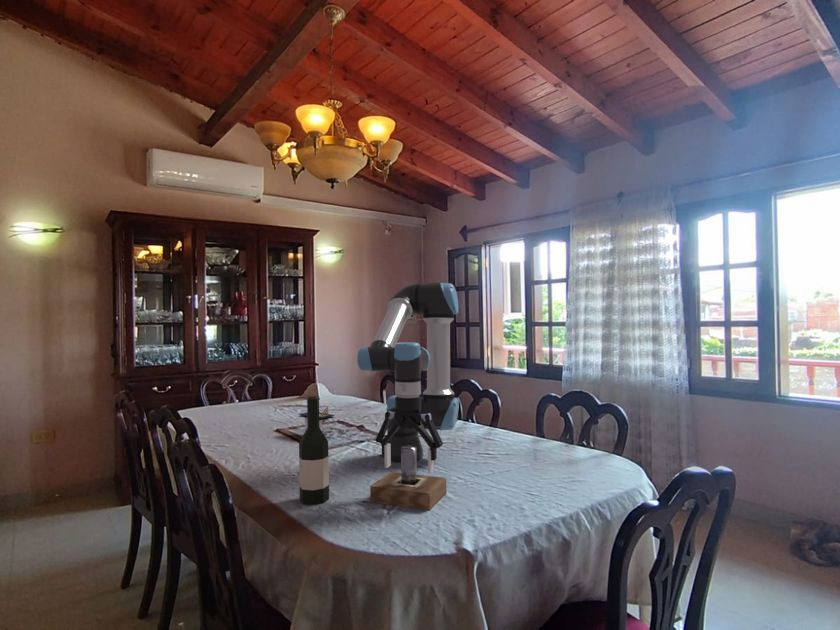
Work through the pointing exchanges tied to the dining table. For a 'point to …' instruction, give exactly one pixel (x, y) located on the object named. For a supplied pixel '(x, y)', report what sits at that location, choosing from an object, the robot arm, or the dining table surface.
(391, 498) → the socket
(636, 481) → the dining table surface
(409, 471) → the peg
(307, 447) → the wine bottle
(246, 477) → the dining table surface
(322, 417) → the architectural model
